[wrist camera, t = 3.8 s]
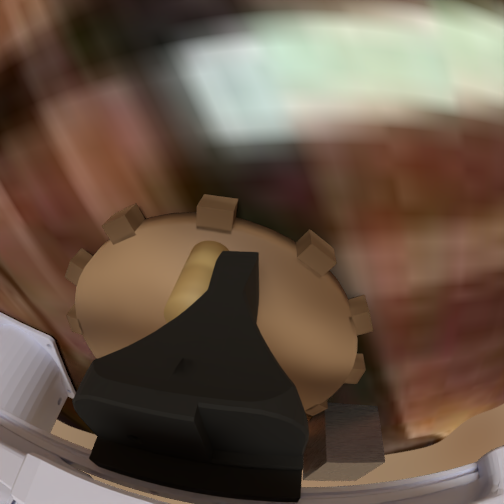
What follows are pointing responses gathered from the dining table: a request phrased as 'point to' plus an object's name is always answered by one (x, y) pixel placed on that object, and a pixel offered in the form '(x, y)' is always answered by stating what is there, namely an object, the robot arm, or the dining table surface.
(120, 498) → the robot arm
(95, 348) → the sprocket
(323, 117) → the dining table surface
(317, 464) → the link block
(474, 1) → the dining table surface
